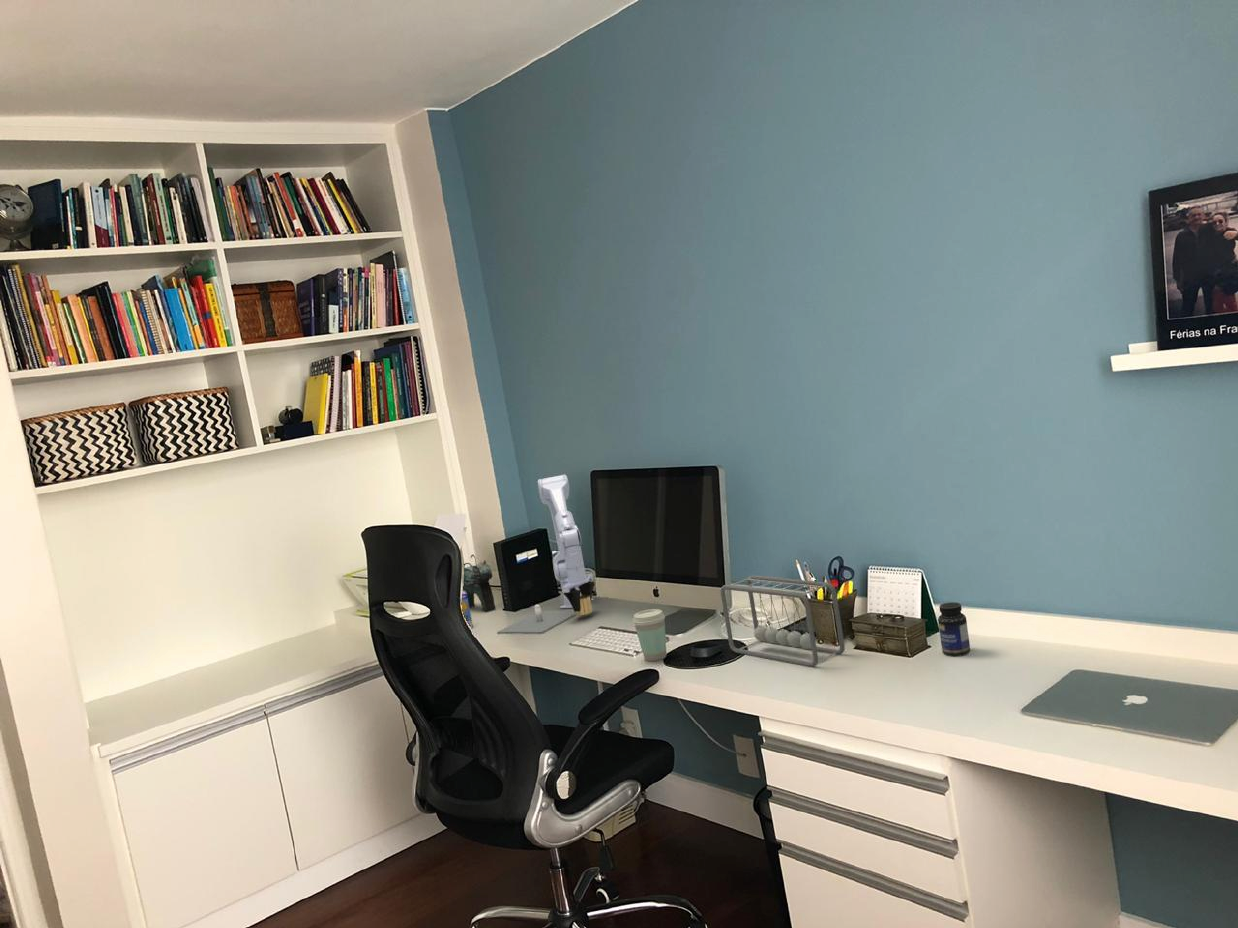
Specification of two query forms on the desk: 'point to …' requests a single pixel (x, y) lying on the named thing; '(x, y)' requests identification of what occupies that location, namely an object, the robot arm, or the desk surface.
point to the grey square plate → (538, 622)
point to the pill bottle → (953, 630)
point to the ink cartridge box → (466, 609)
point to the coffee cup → (651, 633)
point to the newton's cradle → (783, 635)
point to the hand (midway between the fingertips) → (582, 608)
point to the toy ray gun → (479, 585)
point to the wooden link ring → (584, 605)
